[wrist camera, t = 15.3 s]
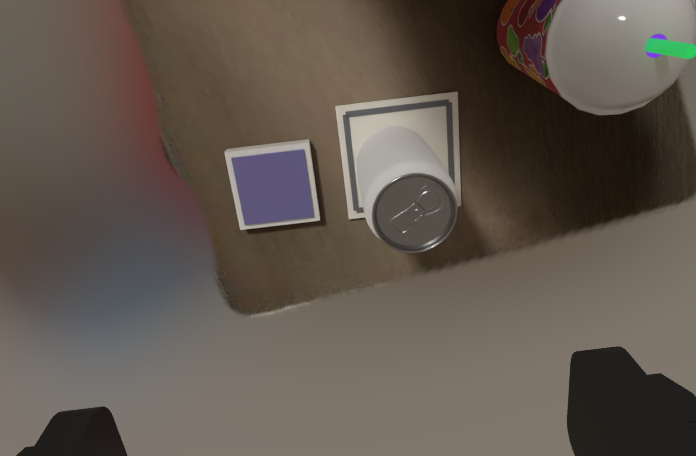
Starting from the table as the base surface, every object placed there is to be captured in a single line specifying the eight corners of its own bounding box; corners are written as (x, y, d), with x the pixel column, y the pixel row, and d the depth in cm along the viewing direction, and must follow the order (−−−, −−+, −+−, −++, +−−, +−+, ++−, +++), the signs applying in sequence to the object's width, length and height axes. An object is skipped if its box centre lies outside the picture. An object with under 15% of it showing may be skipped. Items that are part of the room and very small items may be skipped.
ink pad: (226, 149, 46) (223, 153, 45) (309, 139, 46) (308, 143, 45) (241, 225, 49) (239, 231, 48) (320, 216, 49) (320, 221, 48)
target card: (335, 105, 45) (335, 106, 45) (456, 91, 45) (457, 91, 45) (348, 218, 49) (349, 219, 49) (460, 204, 49) (461, 206, 49)
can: (446, 162, 47) (484, 215, 36) (390, 212, 49) (410, 276, 38) (396, 107, 45) (420, 146, 34) (339, 161, 47) (344, 214, 36)
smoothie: (596, 57, 44) (790, 103, 26) (497, 96, 45) (616, 167, 27) (575, -52, 41) (778, -86, 23) (468, -7, 42) (581, -6, 24)
